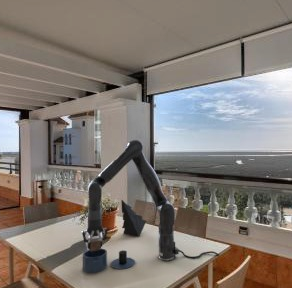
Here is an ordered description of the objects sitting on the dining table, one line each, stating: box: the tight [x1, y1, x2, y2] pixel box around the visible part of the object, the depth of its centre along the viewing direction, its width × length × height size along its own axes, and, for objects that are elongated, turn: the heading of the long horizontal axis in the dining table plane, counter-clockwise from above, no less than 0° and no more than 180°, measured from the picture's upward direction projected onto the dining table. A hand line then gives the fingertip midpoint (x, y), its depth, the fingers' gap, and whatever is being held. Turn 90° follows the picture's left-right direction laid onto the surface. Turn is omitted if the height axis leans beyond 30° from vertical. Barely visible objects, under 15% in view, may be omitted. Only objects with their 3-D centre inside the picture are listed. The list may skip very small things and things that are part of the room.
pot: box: [82, 247, 108, 274], centre depth 135 cm, size 13×18×8 cm
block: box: [90, 238, 100, 251], centre depth 135 cm, size 5×5×5 cm
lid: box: [110, 250, 136, 270], centre depth 139 cm, size 14×14×7 cm
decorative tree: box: [120, 199, 147, 238], centre depth 184 cm, size 15×15×35 cm
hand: (94, 248), depth 135 cm, fingers closed on block, 5 cm apart
